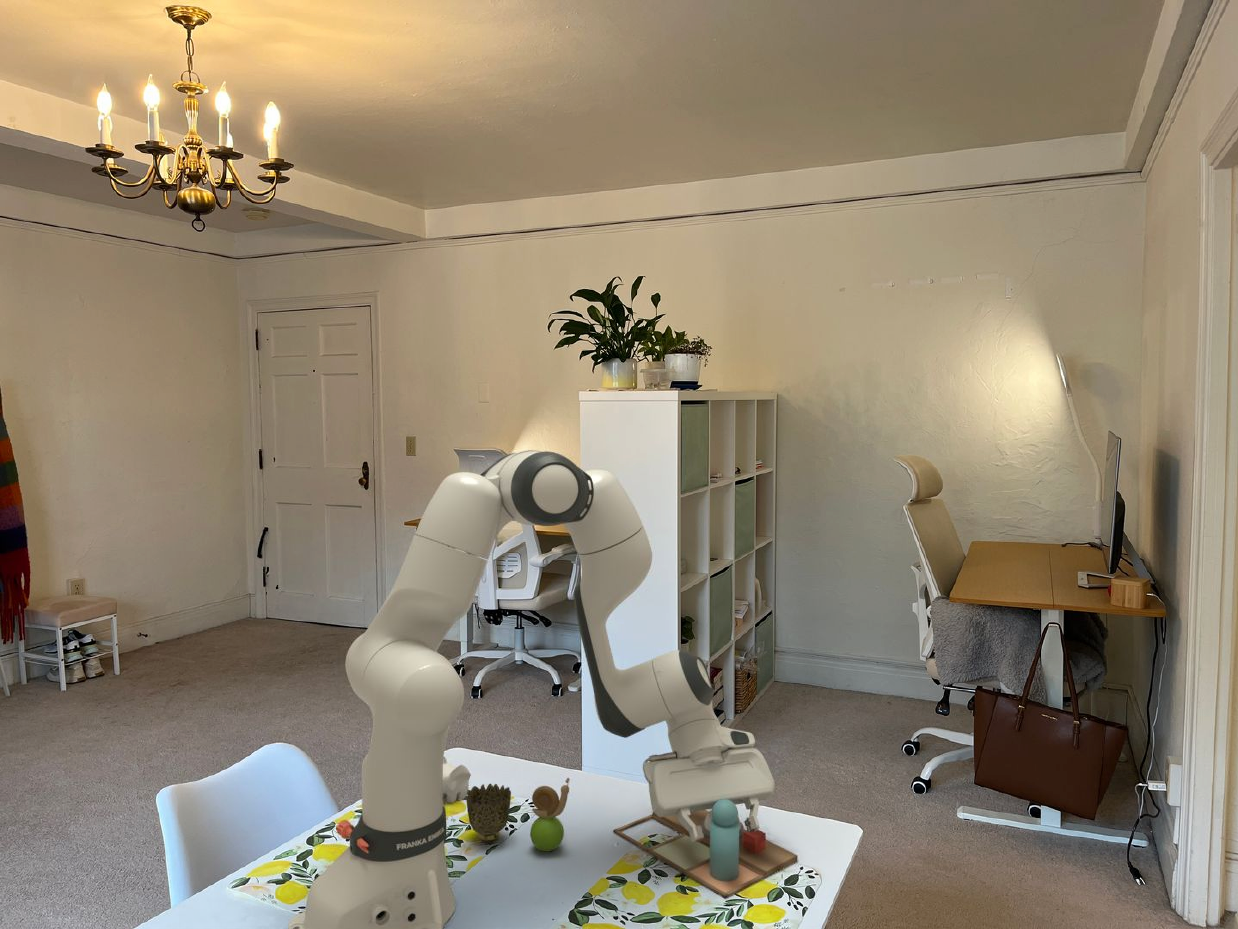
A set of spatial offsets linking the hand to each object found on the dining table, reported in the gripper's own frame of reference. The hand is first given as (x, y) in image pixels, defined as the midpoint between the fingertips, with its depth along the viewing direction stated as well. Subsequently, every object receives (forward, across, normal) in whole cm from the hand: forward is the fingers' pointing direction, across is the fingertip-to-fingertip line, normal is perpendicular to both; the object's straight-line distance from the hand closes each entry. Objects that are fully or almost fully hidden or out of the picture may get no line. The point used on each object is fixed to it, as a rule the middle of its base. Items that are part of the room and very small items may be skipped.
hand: (726, 835), depth 132 cm
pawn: (+4, 0, +5) cm, 6 cm away
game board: (-2, +1, +12) cm, 12 cm away
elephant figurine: (-24, -36, +34) cm, 55 cm away
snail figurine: (-7, -23, +17) cm, 29 cm away
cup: (-12, -32, +22) cm, 40 cm away
